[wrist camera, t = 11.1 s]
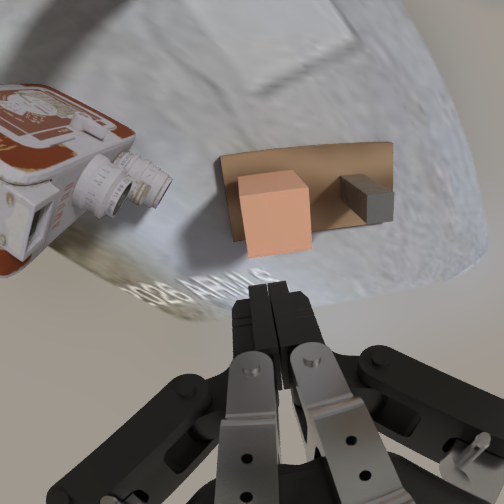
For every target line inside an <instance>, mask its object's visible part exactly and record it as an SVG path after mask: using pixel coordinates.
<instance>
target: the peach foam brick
mask: <svg viewBox="0 0 504 504" xmlns="http://www.w3.org/2000/svg"><path fill="white" fill-rule="evenodd" d="M238 186H239V198H240V204H241V211H242V218H243V224H244V231H245V237H246V244H247V251H248V257H249V258H255V257H262V256H269V255H276V254H282V253H289V252H296V251H303V250H310V249H312V235H311V217H310V201H309V187H308V186H307V185H306V184H305V183H304V182H303V181H302V180H301V179H300V177H299V176H298V175H297V174H296V173H295V172H294V171H293V170H286V171H278V172H270V173H262V174H254V175H247V176H240V177H238Z"/></svg>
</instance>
